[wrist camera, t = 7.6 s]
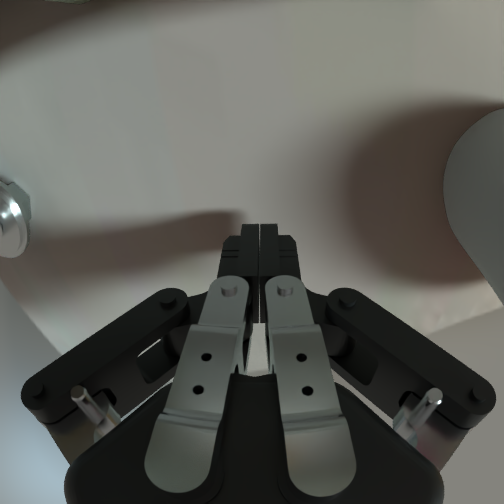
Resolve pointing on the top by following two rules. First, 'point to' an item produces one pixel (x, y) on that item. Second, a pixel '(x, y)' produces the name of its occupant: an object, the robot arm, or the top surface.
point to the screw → (14, 220)
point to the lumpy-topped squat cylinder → (479, 196)
